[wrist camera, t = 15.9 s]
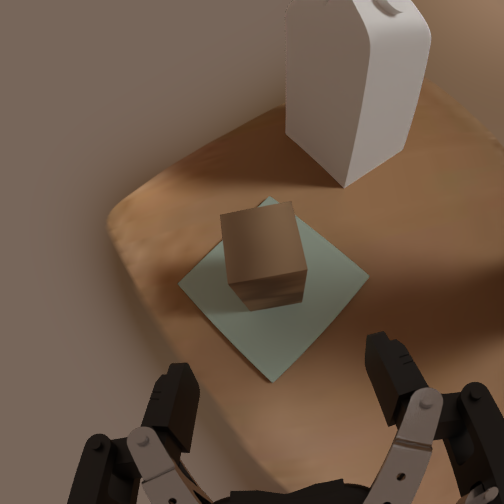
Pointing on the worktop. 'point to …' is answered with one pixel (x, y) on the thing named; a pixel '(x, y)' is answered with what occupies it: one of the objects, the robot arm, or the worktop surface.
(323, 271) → the sage board
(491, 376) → the worktop surface
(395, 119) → the milk
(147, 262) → the worktop surface
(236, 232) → the walnut block
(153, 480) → the robot arm
